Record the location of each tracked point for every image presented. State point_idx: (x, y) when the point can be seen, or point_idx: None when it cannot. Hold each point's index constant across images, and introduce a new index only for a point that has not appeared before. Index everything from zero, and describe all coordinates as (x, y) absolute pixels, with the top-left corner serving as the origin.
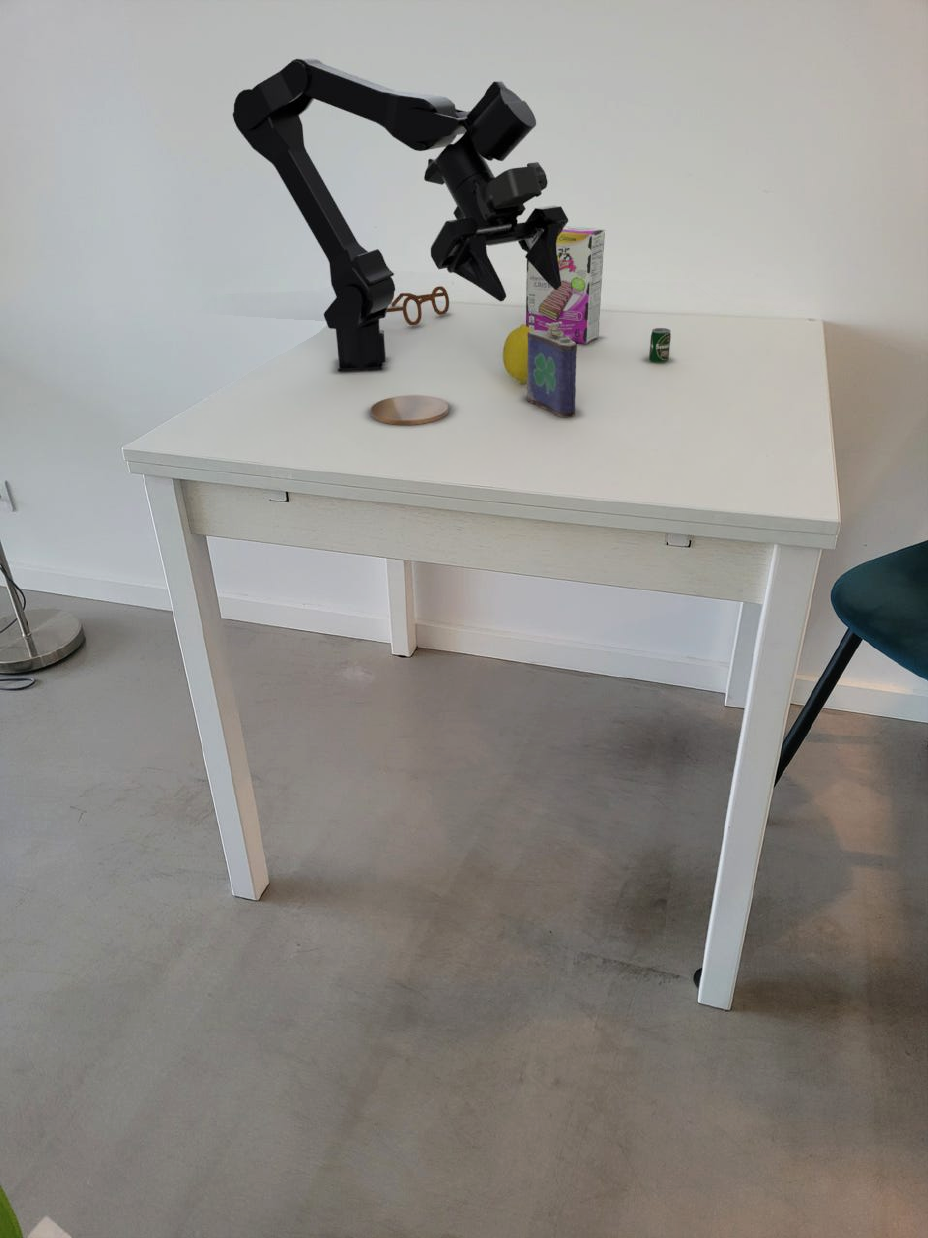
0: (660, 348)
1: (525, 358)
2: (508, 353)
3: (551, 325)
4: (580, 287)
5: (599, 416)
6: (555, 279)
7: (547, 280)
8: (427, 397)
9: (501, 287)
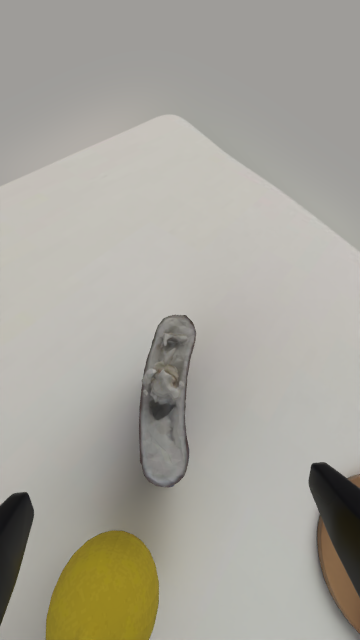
0: None
1: (135, 543)
2: (157, 595)
3: (171, 385)
4: None
5: (142, 335)
6: (13, 524)
7: (8, 592)
8: (346, 598)
9: (345, 485)
